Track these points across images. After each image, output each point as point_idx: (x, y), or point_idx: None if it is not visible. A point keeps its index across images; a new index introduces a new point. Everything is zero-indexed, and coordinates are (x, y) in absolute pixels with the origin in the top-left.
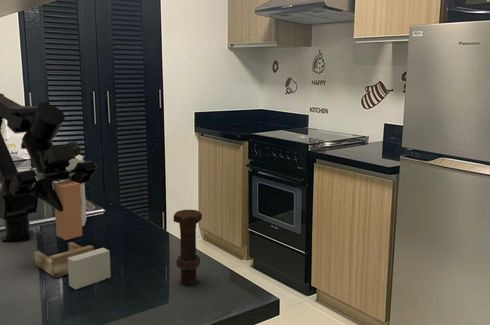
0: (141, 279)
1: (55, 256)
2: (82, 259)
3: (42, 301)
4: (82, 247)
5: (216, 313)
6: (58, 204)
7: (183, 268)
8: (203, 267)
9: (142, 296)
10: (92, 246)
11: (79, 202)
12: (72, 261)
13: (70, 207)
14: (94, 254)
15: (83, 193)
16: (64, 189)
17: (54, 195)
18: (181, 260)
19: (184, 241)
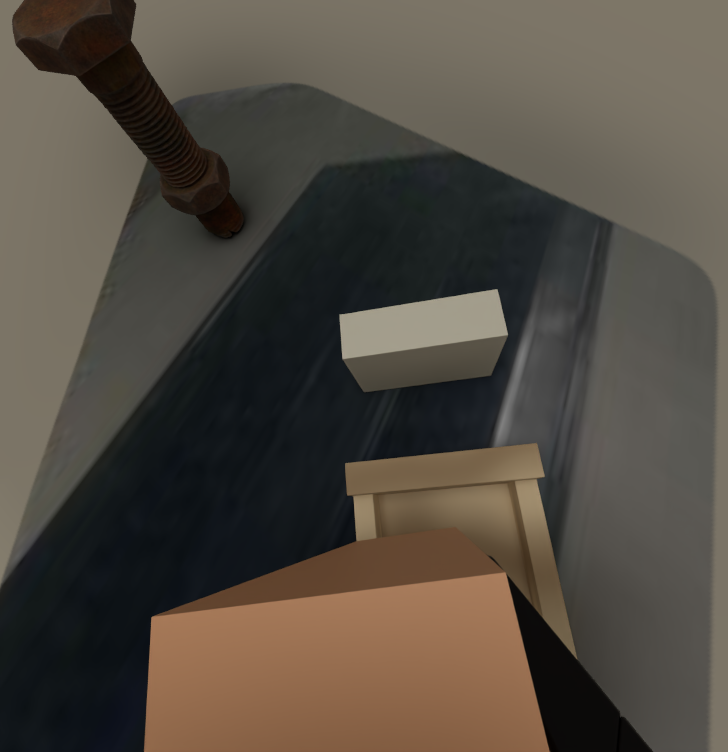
0: (301, 296)
1: (527, 456)
2: (457, 298)
3: (594, 320)
4: (387, 487)
5: (282, 97)
6: (523, 594)
7: (227, 171)
8: (145, 274)
9: (352, 214)
10: (347, 468)
11: (301, 566)
12: (498, 298)
13: (404, 547)
14: (402, 311)
15: None
16: (470, 568)
17: (589, 724)
18: (214, 162)
19: (169, 102)
